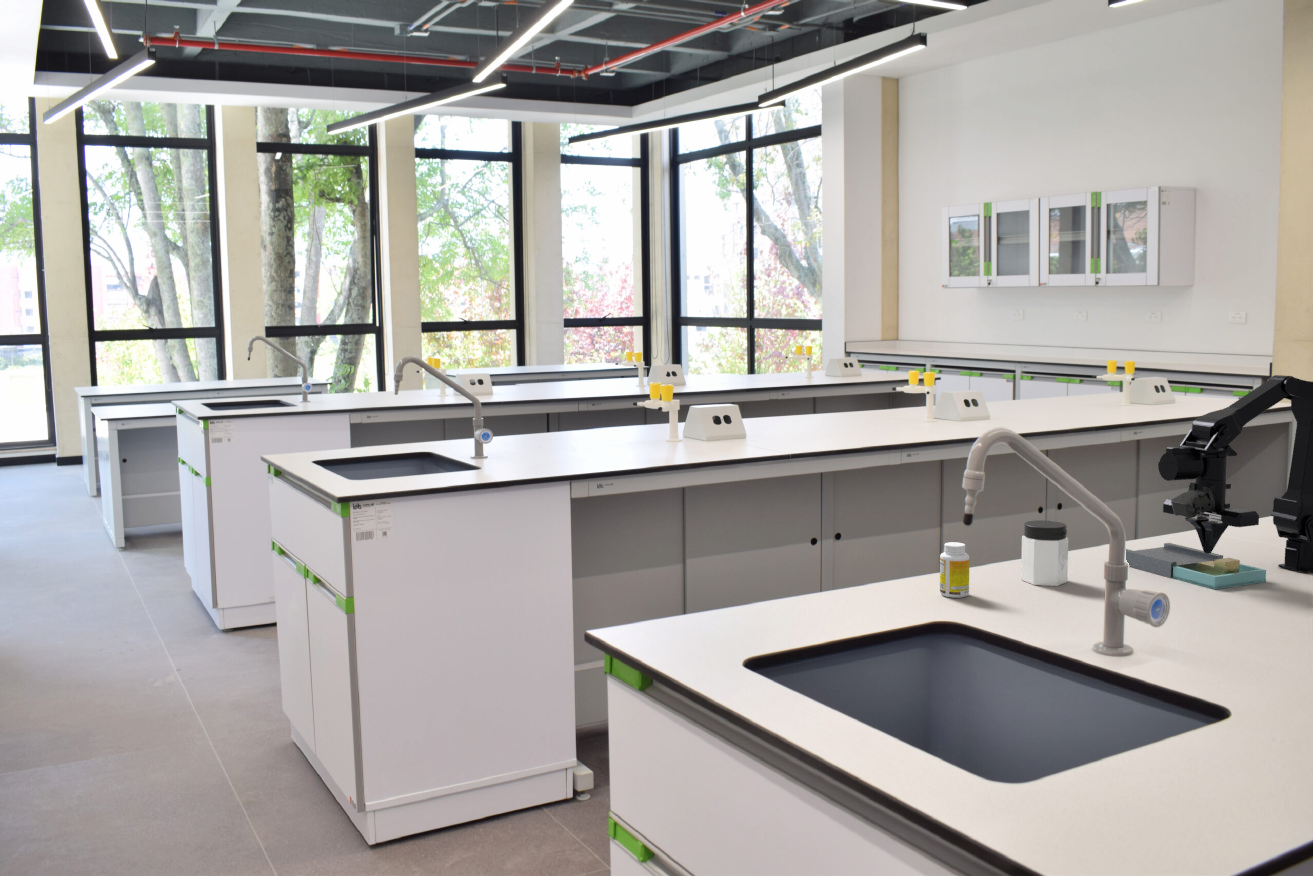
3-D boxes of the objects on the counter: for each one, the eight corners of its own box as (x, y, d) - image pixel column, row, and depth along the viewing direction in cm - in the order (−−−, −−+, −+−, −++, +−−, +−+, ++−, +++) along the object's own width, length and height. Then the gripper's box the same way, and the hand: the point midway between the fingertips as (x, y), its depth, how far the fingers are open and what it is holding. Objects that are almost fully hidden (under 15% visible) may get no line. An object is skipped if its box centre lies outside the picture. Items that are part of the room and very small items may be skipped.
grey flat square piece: (1168, 557, 234) (1169, 542, 233) (1222, 570, 221) (1223, 555, 220) (1118, 563, 228) (1118, 549, 228) (1170, 578, 215) (1171, 562, 215)
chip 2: (1229, 557, 213) (1239, 560, 210) (1228, 576, 213) (1238, 579, 211) (1214, 559, 211) (1225, 562, 209) (1213, 579, 212) (1224, 581, 209)
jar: (1053, 588, 209) (1054, 530, 208) (1015, 582, 215) (1016, 524, 214) (1073, 580, 215) (1074, 523, 214) (1035, 574, 221) (1036, 518, 220)
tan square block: (1211, 572, 217) (1211, 560, 217) (1228, 576, 213) (1228, 564, 213) (1197, 574, 216) (1197, 562, 215) (1213, 579, 212) (1214, 566, 212)
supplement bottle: (974, 595, 206) (975, 544, 204) (958, 600, 202) (958, 548, 201) (950, 589, 210) (951, 539, 209) (933, 594, 206) (934, 544, 205)
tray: (1222, 571, 220) (1223, 559, 220) (1265, 581, 211) (1266, 569, 211) (1172, 578, 215) (1173, 566, 215) (1214, 589, 206) (1214, 577, 206)
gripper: (1144, 475, 219) (1141, 548, 221) (1220, 487, 202) (1217, 566, 204) (1184, 471, 223) (1181, 543, 225) (1262, 483, 206) (1259, 561, 208)
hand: (1207, 553), depth 215 cm, fingers closed
